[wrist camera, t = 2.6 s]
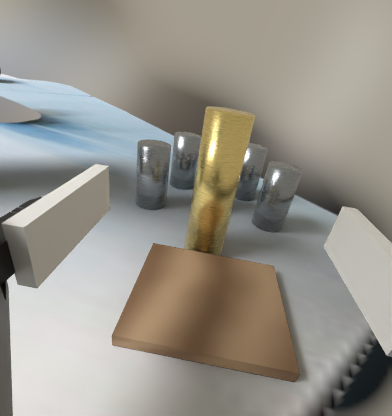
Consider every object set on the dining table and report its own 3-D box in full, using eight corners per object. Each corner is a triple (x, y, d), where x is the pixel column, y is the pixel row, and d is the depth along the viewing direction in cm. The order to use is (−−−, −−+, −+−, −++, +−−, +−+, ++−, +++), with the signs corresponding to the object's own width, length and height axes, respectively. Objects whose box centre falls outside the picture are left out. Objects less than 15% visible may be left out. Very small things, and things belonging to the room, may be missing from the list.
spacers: (131, 206, 32) (133, 145, 28) (155, 174, 43) (158, 127, 39) (284, 234, 32) (306, 176, 28) (270, 195, 42) (285, 149, 38)
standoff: (181, 256, 25) (204, 110, 18) (187, 234, 28) (208, 104, 22) (221, 264, 25) (257, 119, 18) (221, 241, 28) (252, 112, 22)
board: (112, 344, 16) (111, 335, 16) (152, 251, 25) (153, 243, 25) (294, 381, 16) (299, 373, 15) (270, 273, 25) (273, 265, 24)
